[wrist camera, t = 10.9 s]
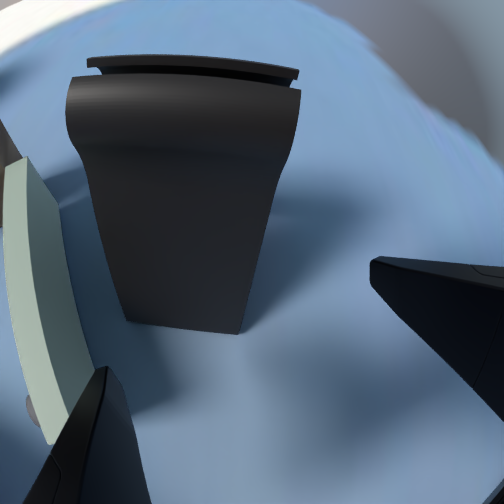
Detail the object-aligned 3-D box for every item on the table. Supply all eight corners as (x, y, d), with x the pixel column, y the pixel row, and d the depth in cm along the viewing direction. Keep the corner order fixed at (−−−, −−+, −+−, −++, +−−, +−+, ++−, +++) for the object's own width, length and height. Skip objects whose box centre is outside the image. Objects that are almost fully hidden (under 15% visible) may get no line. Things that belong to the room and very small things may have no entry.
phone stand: (157, 182, 19) (134, 7, 8) (249, 192, 20) (295, 18, 9) (127, 321, 15) (-3, 206, 4) (237, 336, 16) (309, 240, 5)
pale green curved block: (115, 422, 13) (78, 438, 8) (73, 432, 12) (26, 448, 7) (58, 204, 17) (27, 155, 12) (25, 218, 16) (-11, 175, 11)
